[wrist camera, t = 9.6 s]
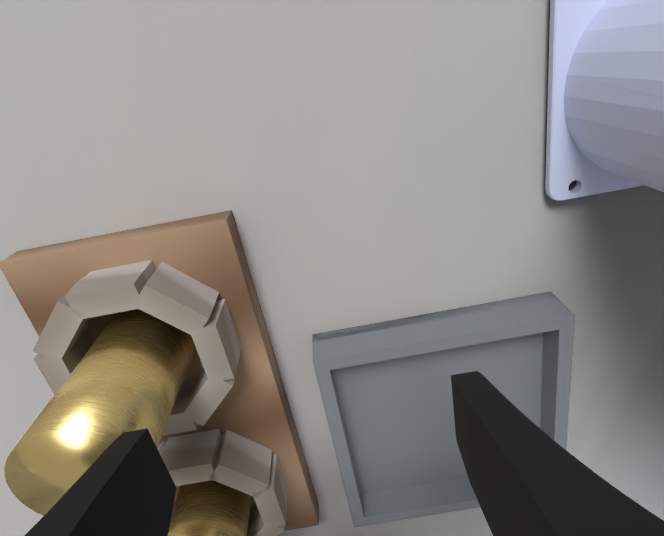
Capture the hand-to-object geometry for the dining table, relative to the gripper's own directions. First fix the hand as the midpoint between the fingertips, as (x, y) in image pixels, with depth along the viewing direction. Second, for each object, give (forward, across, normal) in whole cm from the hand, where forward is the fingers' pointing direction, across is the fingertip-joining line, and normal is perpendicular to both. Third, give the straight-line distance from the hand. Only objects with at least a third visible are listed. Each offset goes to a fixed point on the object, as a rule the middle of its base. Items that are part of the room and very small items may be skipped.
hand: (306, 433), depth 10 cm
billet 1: (+8, +7, +2) cm, 11 cm away
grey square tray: (+9, -5, +9) cm, 14 cm away
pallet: (+9, +7, +6) cm, 13 cm away
